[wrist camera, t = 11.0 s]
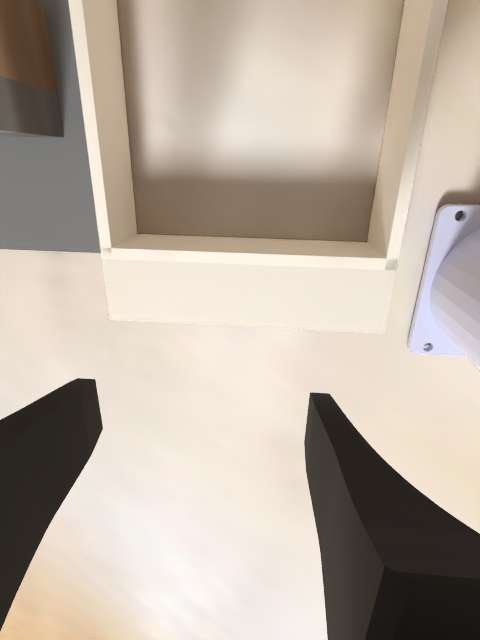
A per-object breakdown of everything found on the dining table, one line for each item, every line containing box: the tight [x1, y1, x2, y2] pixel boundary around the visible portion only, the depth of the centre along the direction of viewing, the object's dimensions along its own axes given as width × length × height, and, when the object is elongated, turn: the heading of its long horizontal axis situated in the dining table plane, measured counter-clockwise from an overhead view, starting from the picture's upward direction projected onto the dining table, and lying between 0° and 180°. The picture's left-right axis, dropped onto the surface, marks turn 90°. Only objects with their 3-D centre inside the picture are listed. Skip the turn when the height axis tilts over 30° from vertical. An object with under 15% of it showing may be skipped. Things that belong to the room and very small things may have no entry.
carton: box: [68, 0, 449, 334], centre depth 15 cm, size 13×21×4 cm, turn 179°
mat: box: [0, 0, 101, 253], centre depth 17 cm, size 7×16×1 cm, turn 179°
